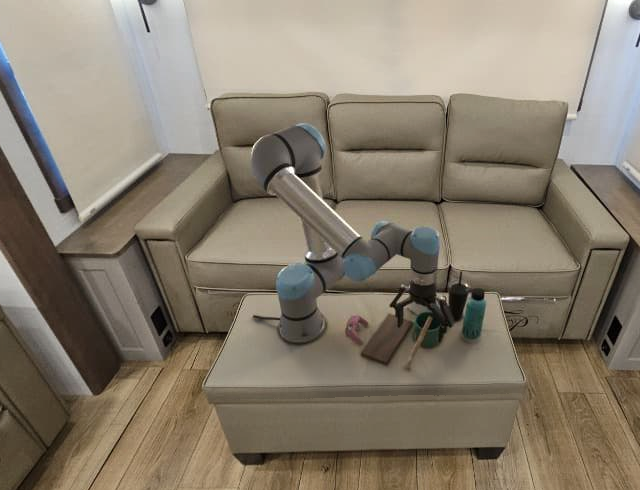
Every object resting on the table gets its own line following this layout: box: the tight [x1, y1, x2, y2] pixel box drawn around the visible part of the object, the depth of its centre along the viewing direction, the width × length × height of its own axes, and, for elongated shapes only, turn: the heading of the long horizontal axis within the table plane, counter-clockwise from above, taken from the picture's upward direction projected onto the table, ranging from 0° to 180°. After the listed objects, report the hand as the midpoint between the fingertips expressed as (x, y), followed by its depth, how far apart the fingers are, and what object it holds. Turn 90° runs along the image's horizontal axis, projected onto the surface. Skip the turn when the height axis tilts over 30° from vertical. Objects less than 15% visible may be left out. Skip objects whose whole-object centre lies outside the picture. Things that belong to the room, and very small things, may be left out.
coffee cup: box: [413, 311, 441, 348], centre depth 140 cm, size 9×9×8 cm
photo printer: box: [407, 284, 432, 316], centre depth 149 cm, size 10×4×12 cm, turn 46°
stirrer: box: [404, 316, 433, 370], centre depth 133 cm, size 1×13×13 cm
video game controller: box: [344, 313, 369, 345], centre depth 142 cm, size 10×5×7 cm, turn 168°
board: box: [360, 313, 413, 365], centre depth 142 cm, size 9×20×1 cm, turn 155°
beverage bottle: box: [461, 287, 487, 341], centre depth 138 cm, size 6×7×20 cm
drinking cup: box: [447, 270, 472, 321], centre depth 145 cm, size 8×8×20 cm
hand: (420, 331), depth 131 cm, fingers open, 13 cm apart
